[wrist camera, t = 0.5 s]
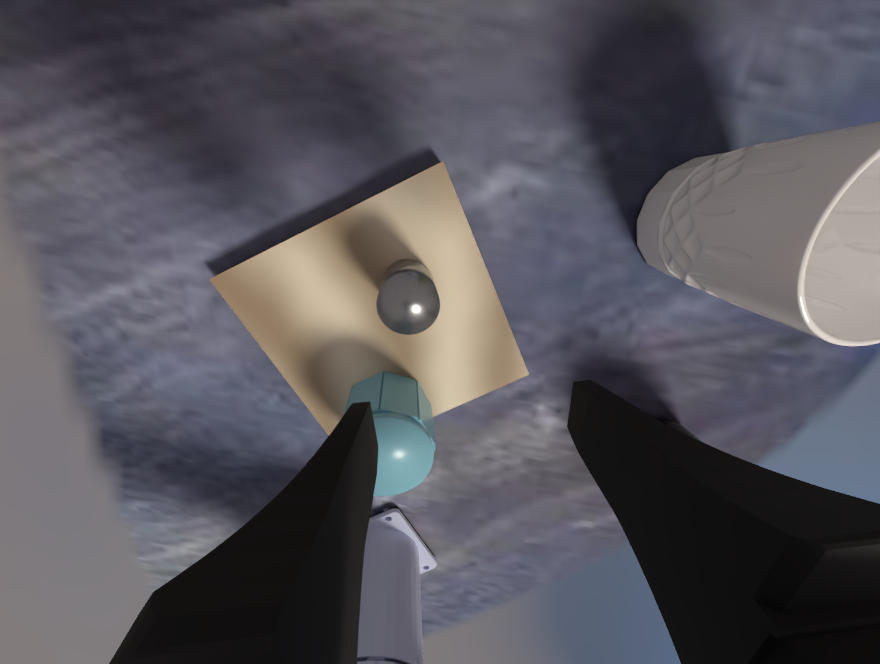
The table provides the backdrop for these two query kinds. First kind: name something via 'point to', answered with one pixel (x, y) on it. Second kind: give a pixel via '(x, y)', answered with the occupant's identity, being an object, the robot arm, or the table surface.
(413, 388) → the cap
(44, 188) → the table surface
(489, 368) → the board
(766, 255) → the white cup
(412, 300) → the stud
